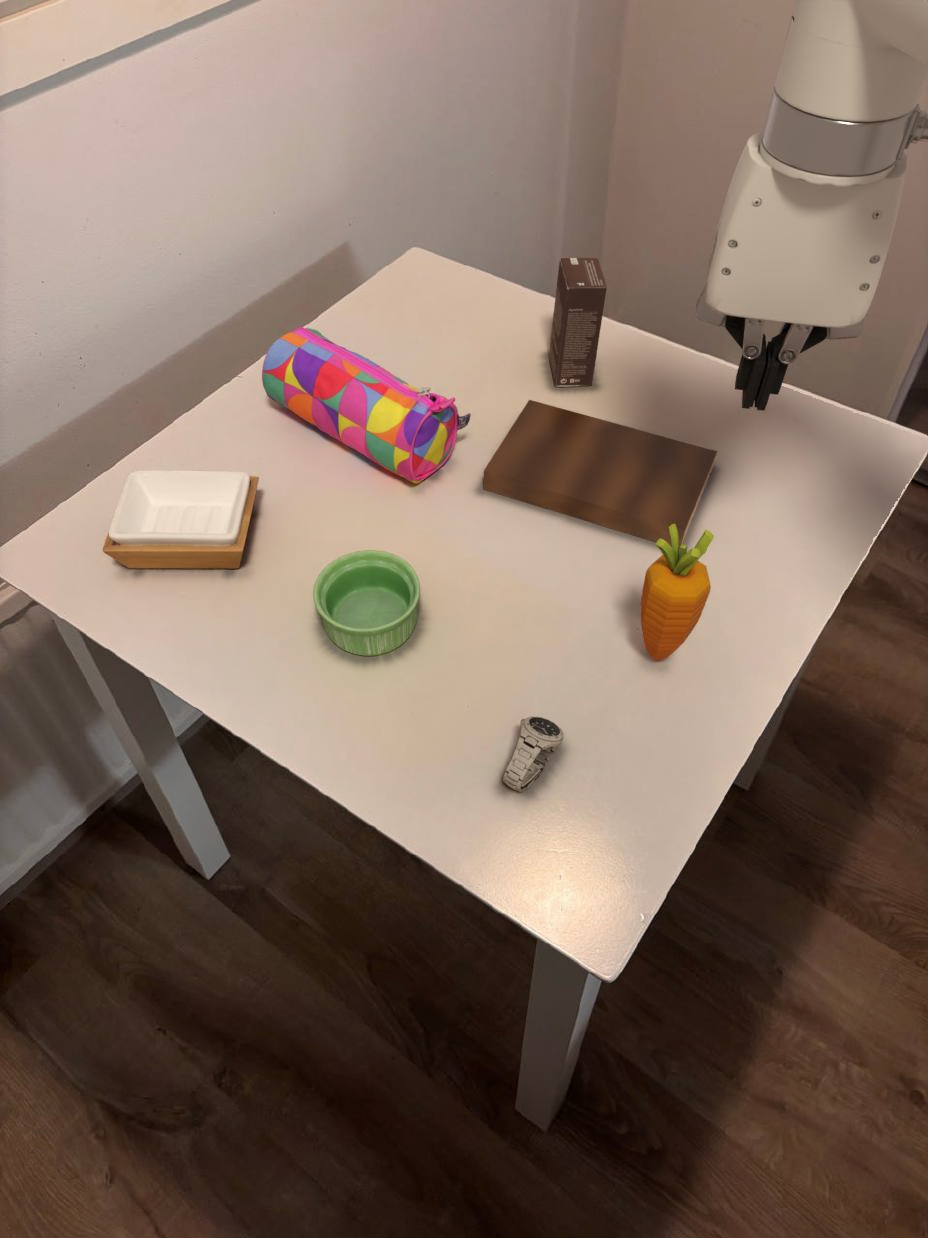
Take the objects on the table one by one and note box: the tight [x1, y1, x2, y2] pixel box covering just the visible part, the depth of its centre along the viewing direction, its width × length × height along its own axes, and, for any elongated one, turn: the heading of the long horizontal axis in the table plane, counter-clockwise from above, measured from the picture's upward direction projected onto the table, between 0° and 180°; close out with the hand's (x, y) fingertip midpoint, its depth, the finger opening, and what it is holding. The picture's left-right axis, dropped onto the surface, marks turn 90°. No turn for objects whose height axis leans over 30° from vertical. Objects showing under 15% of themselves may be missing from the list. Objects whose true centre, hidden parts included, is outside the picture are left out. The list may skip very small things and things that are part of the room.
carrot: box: [640, 524, 714, 661], centre depth 70 cm, size 5×5×15 cm
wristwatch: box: [502, 716, 565, 793], centre depth 67 cm, size 4×6×5 cm, turn 145°
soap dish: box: [102, 469, 260, 570], centre depth 83 cm, size 12×10×5 cm
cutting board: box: [483, 399, 718, 550], centre depth 89 cm, size 20×12×2 cm, turn 66°
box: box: [548, 257, 608, 388], centre depth 96 cm, size 6×4×12 cm
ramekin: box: [312, 549, 421, 657], centre depth 77 cm, size 9×9×4 cm
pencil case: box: [261, 326, 472, 484], centre depth 91 cm, size 22×9×9 cm, turn 53°
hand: (753, 397), depth 64 cm, fingers closed
